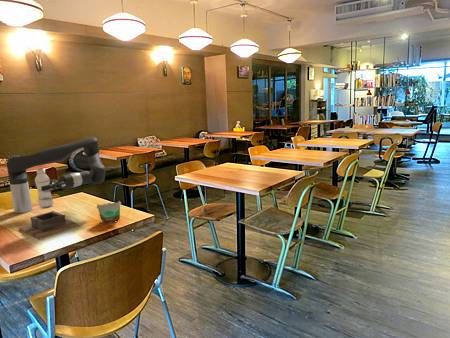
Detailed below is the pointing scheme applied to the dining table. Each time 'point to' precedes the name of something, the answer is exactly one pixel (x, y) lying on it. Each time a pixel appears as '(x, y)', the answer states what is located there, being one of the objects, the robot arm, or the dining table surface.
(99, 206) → the food container
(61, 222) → the bottle holder
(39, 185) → the plastic bottle
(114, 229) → the dining table surface
